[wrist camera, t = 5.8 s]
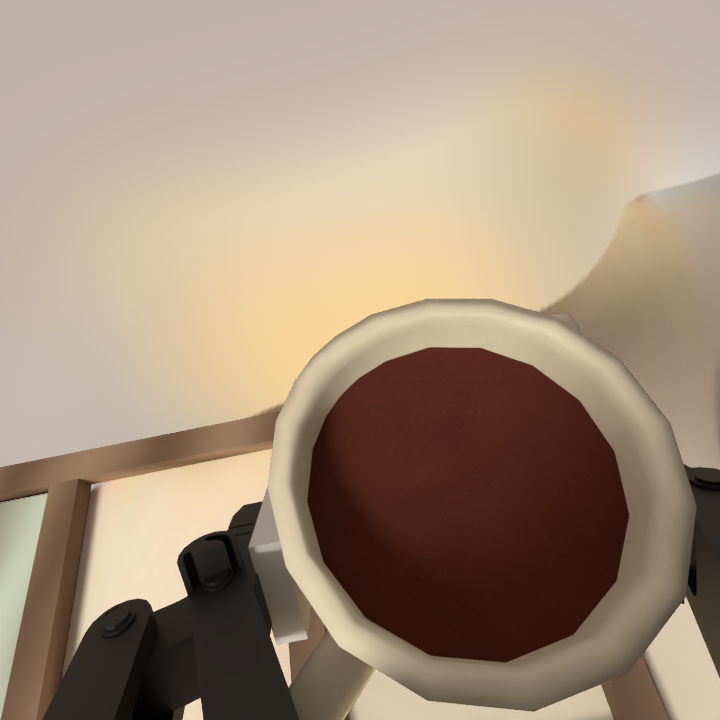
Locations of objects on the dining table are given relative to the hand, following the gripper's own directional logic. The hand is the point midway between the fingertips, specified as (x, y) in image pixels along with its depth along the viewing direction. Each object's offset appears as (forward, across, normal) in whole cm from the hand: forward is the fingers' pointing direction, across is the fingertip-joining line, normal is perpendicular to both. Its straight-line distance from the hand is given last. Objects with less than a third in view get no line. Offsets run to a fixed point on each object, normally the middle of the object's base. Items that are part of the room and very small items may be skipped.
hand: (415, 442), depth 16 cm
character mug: (+1, 0, -6) cm, 6 cm away
